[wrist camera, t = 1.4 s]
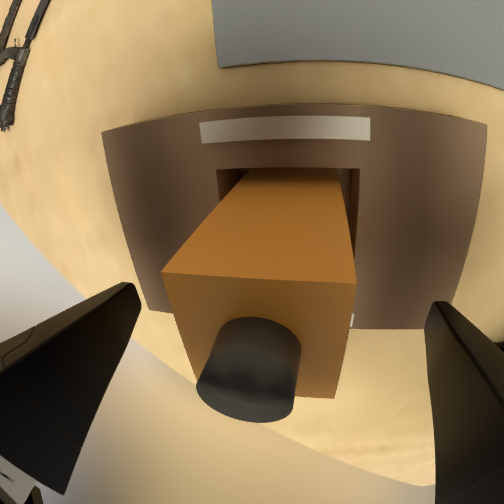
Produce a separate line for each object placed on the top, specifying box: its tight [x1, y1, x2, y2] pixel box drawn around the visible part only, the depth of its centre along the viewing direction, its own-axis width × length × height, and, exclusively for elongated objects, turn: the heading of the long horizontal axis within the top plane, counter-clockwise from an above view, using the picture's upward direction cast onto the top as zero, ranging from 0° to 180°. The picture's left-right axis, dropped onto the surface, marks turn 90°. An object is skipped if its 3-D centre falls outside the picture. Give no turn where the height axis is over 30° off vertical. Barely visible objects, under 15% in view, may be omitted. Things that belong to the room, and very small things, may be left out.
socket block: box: [101, 103, 487, 329], centre depth 13 cm, size 16×10×3 cm, turn 95°
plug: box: [161, 167, 357, 423], centre depth 10 cm, size 4×4×10 cm
